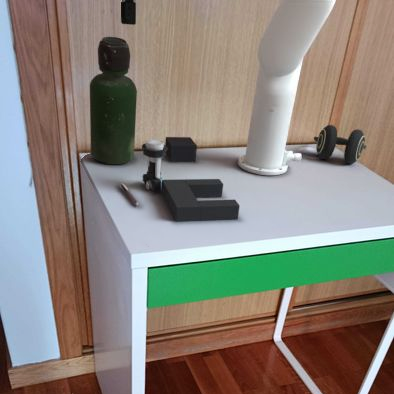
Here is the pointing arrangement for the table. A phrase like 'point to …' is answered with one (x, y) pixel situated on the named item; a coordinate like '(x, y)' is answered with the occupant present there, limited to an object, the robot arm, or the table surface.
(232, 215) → the black u-shaped block
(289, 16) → the robot arm
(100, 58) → the green bottle
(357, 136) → the black dumbbell
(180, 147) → the small black block
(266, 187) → the table surface
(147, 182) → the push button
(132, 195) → the pen
